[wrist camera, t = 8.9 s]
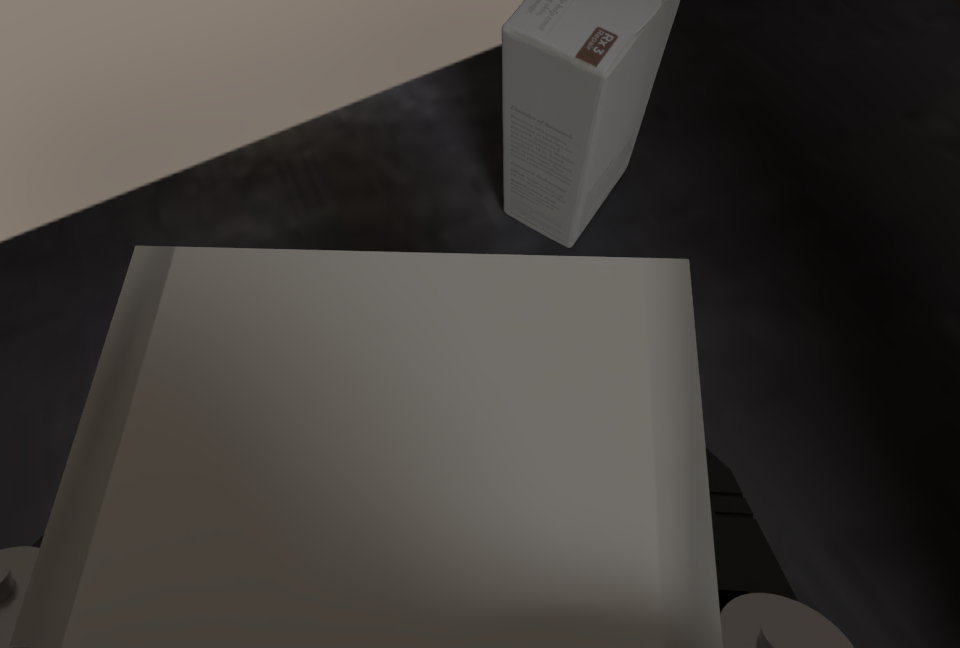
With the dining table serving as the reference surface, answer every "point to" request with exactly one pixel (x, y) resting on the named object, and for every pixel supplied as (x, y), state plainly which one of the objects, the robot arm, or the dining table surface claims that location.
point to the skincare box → (575, 104)
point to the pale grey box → (385, 458)
